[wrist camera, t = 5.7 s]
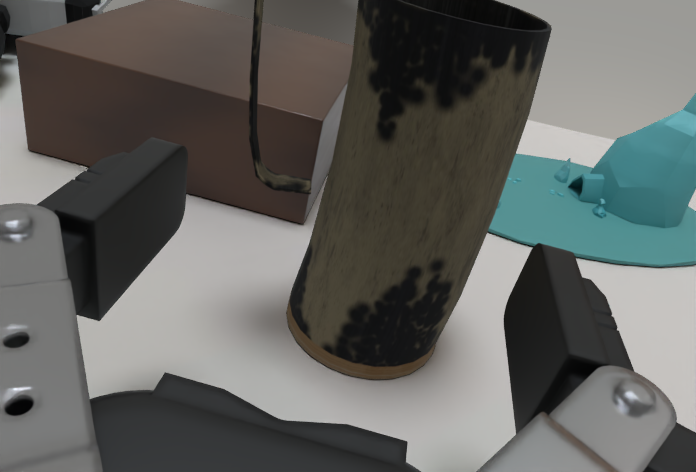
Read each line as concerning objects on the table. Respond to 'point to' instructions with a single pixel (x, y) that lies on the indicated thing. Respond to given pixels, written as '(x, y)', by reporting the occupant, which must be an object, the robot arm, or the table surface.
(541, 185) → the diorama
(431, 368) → the table surface
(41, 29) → the robot toy
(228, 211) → the table surface
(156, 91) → the walnut block
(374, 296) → the mug
